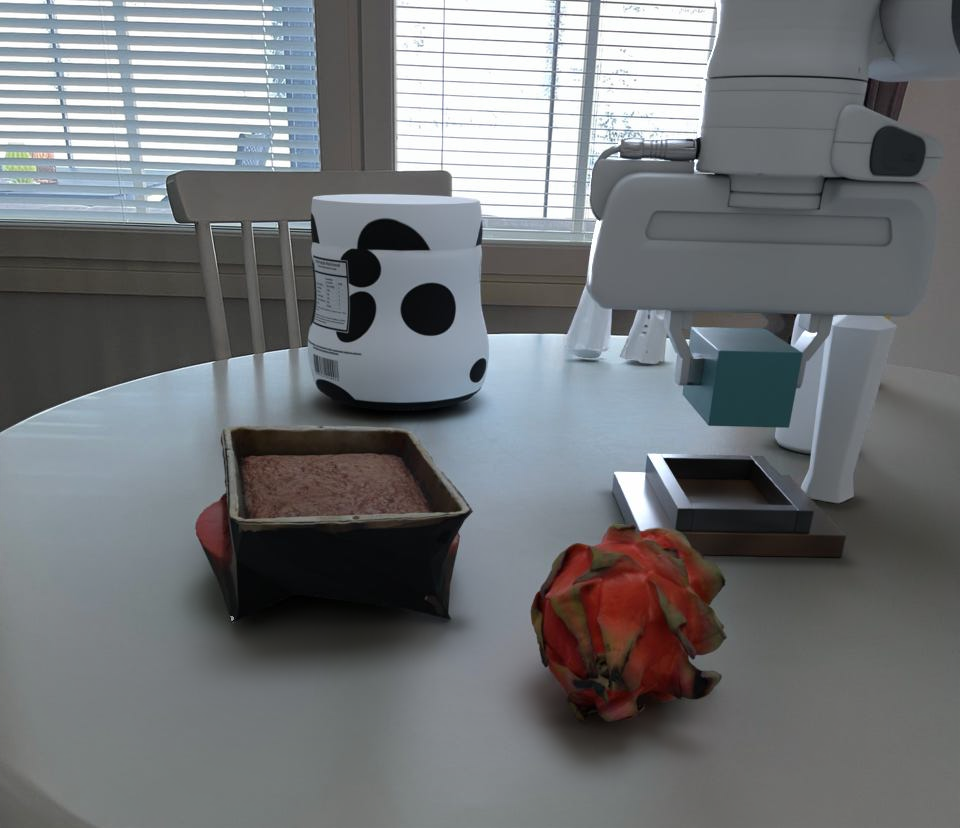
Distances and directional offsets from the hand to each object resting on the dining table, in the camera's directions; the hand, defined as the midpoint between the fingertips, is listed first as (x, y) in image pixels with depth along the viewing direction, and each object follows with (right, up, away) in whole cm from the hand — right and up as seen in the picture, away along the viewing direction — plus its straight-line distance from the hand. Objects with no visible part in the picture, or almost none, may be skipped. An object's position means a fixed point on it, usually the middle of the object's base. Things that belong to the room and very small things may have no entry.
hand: (737, 385), depth 60 cm
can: (+12, 0, +21) cm, 25 cm away
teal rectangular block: (0, -1, +1) cm, 2 cm away
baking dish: (-25, -13, -6) cm, 29 cm away
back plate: (0, -8, +4) cm, 9 cm away
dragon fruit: (-10, -19, -16) cm, 27 cm away
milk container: (-24, +7, +32) cm, 41 cm away
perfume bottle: (+10, -6, +10) cm, 15 cm away
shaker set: (-1, +17, +51) cm, 54 cm away
